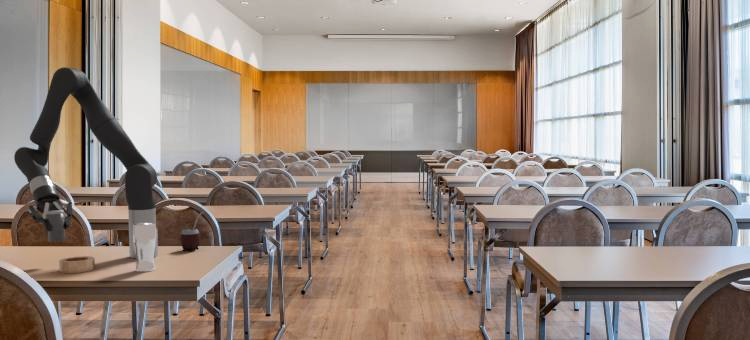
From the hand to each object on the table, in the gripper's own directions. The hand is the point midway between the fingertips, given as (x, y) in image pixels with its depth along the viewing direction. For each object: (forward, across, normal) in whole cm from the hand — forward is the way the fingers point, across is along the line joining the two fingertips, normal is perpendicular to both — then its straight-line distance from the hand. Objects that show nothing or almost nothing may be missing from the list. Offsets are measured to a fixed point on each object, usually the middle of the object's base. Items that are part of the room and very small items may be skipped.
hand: (58, 228), depth 206 cm
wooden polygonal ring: (+17, +1, +1) cm, 17 cm away
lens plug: (+2, 0, +4) cm, 5 cm away
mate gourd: (+14, +45, +5) cm, 47 cm away
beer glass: (+30, +16, -11) cm, 35 cm away
